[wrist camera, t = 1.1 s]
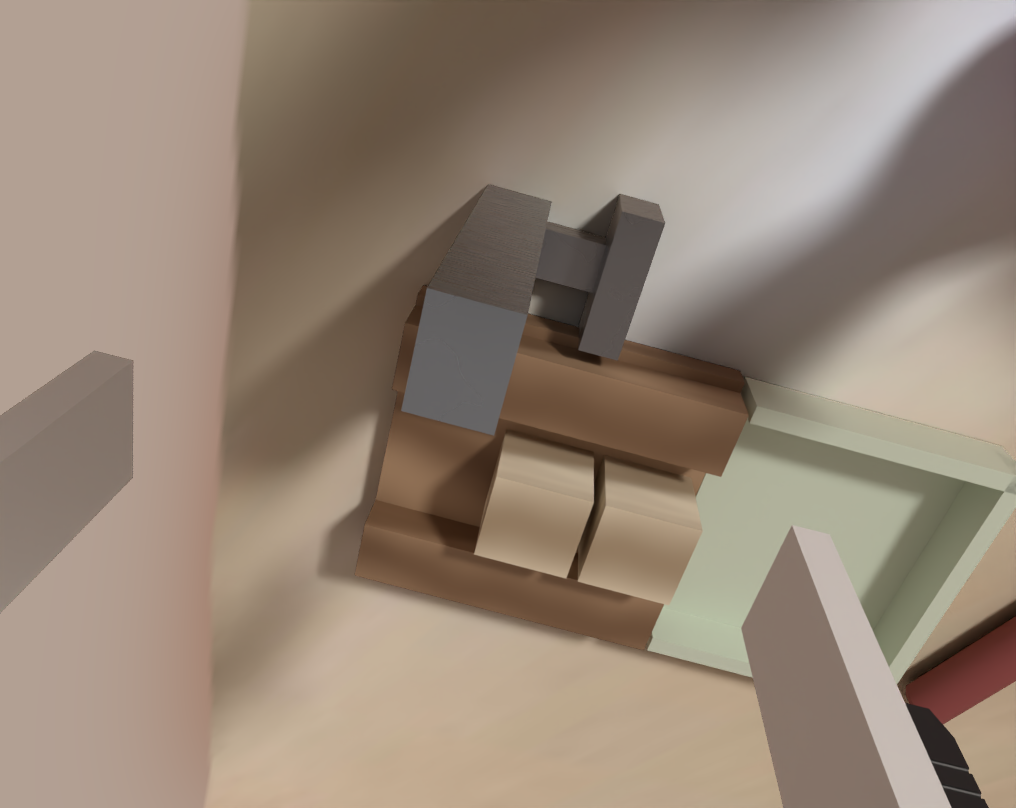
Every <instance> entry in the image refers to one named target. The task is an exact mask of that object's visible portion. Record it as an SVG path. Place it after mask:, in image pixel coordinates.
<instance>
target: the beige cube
mask: <svg viewBox="0 0 1016 808" xmlns="http://www.w3.org/2000/svg"><path fill="white" fill-rule="evenodd" d="M593 503H594V452H592V451H589V450H585V449H581V448H577V447H574V446H570V445H566V444H562V443H558V442H555V441H551V440H547V439H543V438H540V437H536V436H532V435H528V434H525V433H521V432H517V431H513V430H510V429H506V431H505V435H504V438H503V442H502V445H501V449H500V452H499V456H498V459H497V463H496V466H495V470H494V473H493V477H492V480H491V484H490V487H489V491H488V494H487V498H486V502H485V506H484V511H483V515H482V520H481V525H480V529H479V534H478V539H477V543H476V548H475V552H474V555H478V556H482V557H485V558H489V559H493V560H497V561H501V562H505V563H508V564H512V565H516V566H520V567H524V568H528V569H531V570H535V571H539V572H543V573H547V574H551V575H554V576H558V577H562V578H567V575H568V572H569V569H570V567H571V564H572V561H573V558H574V556H575V553H576V550H577V547H578V545H579V542H580V539H581V536H582V534H583V531H584V528H585V525H586V523H587V520H588V517H589V514H590V512H591V509H592V506H593Z"/></svg>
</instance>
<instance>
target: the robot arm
mask: <svg viewBox="0 0 1016 808" xmlns="http://www.w3.org/2000/svg"><path fill="white" fill-rule="evenodd" d="M132 476H133V360H129V359H125V358H121V357H117V356H113V355H109V354H105V353H101V352H97V351H93V352H92V353H90V354H89V355H87V356H86V357H84V358H83V359H82V360H80V361H79V362H77V363H76V364H74V365H73V366H72V367H70V368H69V369H67V370H66V371H64V372H63V373H61V374H60V375H58V376H57V377H56V378H54V379H53V380H51V381H50V382H48V383H47V384H45V385H44V386H43V387H41V388H40V389H38V390H37V391H35V392H34V393H32V394H31V395H30V396H28V397H27V398H25V399H24V400H22V401H21V402H19V403H18V404H17V405H15V406H14V407H12V408H11V409H9V410H8V411H6V412H5V413H4V414H2V415H1V416H0V613H1V612H2V611H3V610H4V609H5V608H6V607H7V606H8V605H9V604H10V603H11V602H12V601H13V600H14V599H15V598H16V597H17V596H18V595H19V593H20V592H21V591H22V590H23V589H24V588H25V587H26V586H27V585H28V584H29V583H30V582H31V581H32V580H33V579H34V578H35V577H36V576H37V575H38V574H39V573H40V572H41V571H42V570H43V569H44V568H45V567H46V566H47V565H48V564H49V563H50V562H51V561H52V560H53V559H54V557H56V556H57V554H59V553H60V552H61V551H62V549H63V548H64V547H65V546H66V545H67V544H68V543H69V542H70V541H71V540H72V539H73V538H74V537H75V536H76V535H77V534H78V533H79V532H80V531H81V530H82V529H83V528H84V527H85V526H86V525H87V524H88V523H89V522H90V521H91V520H92V519H93V518H94V517H95V516H96V515H97V514H98V513H99V512H100V510H101V509H102V508H103V507H104V506H105V505H106V504H107V503H108V502H109V501H110V500H111V499H112V498H113V497H114V496H115V495H116V494H117V493H118V492H119V491H120V490H121V489H122V488H123V487H124V486H125V485H126V484H127V483H128V482H129V481H130V480H131V479H132V478H133V477H132ZM741 630H742V634H743V639H744V643H745V647H746V651H747V655H748V660H749V664H750V668H751V672H752V677H753V681H754V685H755V689H756V694H757V698H758V702H759V706H760V710H761V715H762V719H763V723H764V727H765V732H766V736H767V740H768V744H769V749H770V753H771V757H772V761H773V766H774V770H775V774H776V778H777V782H778V787H779V791H780V795H781V799H782V804H783V808H988V806H987V804H986V802H985V800H984V799H981V791H980V789H979V787H978V785H977V783H976V781H975V779H974V777H973V775H972V774H969V772H968V770H969V767H968V765H967V763H966V761H965V759H964V757H963V755H962V753H961V751H960V749H959V747H958V745H957V743H956V741H955V739H954V737H953V736H952V735H951V734H950V732H949V731H948V730H947V729H946V728H945V727H944V725H943V724H942V723H941V722H940V721H939V720H938V718H937V717H936V716H935V715H934V714H933V713H932V712H931V710H930V709H928V708H924V707H920V706H916V705H912V704H908V703H905V702H904V700H903V698H902V695H901V693H900V691H899V689H898V686H897V684H896V682H895V680H894V677H893V675H892V673H891V671H890V668H889V666H888V664H887V662H886V659H885V657H884V655H883V653H882V651H881V648H880V646H879V644H878V642H877V639H876V637H875V635H874V633H873V630H872V628H871V626H870V624H869V621H868V619H867V617H866V615H865V612H864V610H863V608H862V606H861V603H860V601H859V599H858V597H857V594H856V592H855V590H854V588H853V585H852V583H851V581H850V579H849V576H848V574H847V572H846V570H845V567H844V565H843V563H842V561H841V559H840V556H839V554H838V552H837V550H836V547H835V545H834V543H833V541H832V538H831V536H830V534H826V533H822V532H818V531H814V530H810V529H806V528H802V527H798V526H794V525H792V526H791V528H790V530H789V532H788V534H787V536H786V538H785V540H784V542H783V544H782V546H781V548H780V550H779V552H778V554H777V556H776V558H775V560H774V562H773V564H772V566H771V568H770V570H769V572H768V574H767V576H766V578H765V580H764V582H763V584H762V587H761V589H760V591H759V593H758V595H757V597H756V599H755V601H754V603H753V605H752V607H751V609H750V611H749V613H748V615H747V617H746V619H745V621H744V623H743V625H742V627H741Z"/></svg>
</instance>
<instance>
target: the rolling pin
mask: <svg viewBox="0 0 1016 808" xmlns="http://www.w3.org/2000/svg"><path fill="white" fill-rule="evenodd" d="M1015 681H1016V616H1015V617H1014V618H1012V619H1010V620H1009V621H1007V622H1006V623H1004V624H1003V625H1001V626H999V627H998V628H996V629H995V630H993V631H992V632H990V633H988V634H987V635H985V636H984V637H982V638H981V639H979V640H977V641H976V642H974V643H973V644H971V645H969V646H968V647H966V648H965V649H963V650H962V651H960V652H958V653H957V654H955V655H954V656H952V657H951V658H949V659H947V660H946V661H944V662H943V663H941V664H939V665H938V666H936V667H935V668H933V669H932V670H930V671H928V672H927V673H925V674H924V675H922V676H921V677H919V678H917V679H916V680H914V681H913V682H911V683H910V684H908V685H907V686H906V697H907V699H908V701H909V703H910V704H912V705H916V706H920V707H924V708H928V709H930V710H931V712H932V713H933V714H934V715H935V716H936V717H937V718H938V720H939V721H940V722H941V723H942V724H944V723H946V722H948V721H950V720H951V719H953V718H955V717H956V716H958V715H960V714H961V713H963V712H965V711H966V710H968V709H970V708H971V707H973V706H975V705H976V704H978V703H980V702H981V701H983V700H985V699H986V698H988V697H990V696H991V695H993V694H995V693H996V692H998V691H1000V690H1002V689H1003V688H1005V687H1007V686H1008V685H1010V684H1012V683H1013V682H1015Z"/></svg>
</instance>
